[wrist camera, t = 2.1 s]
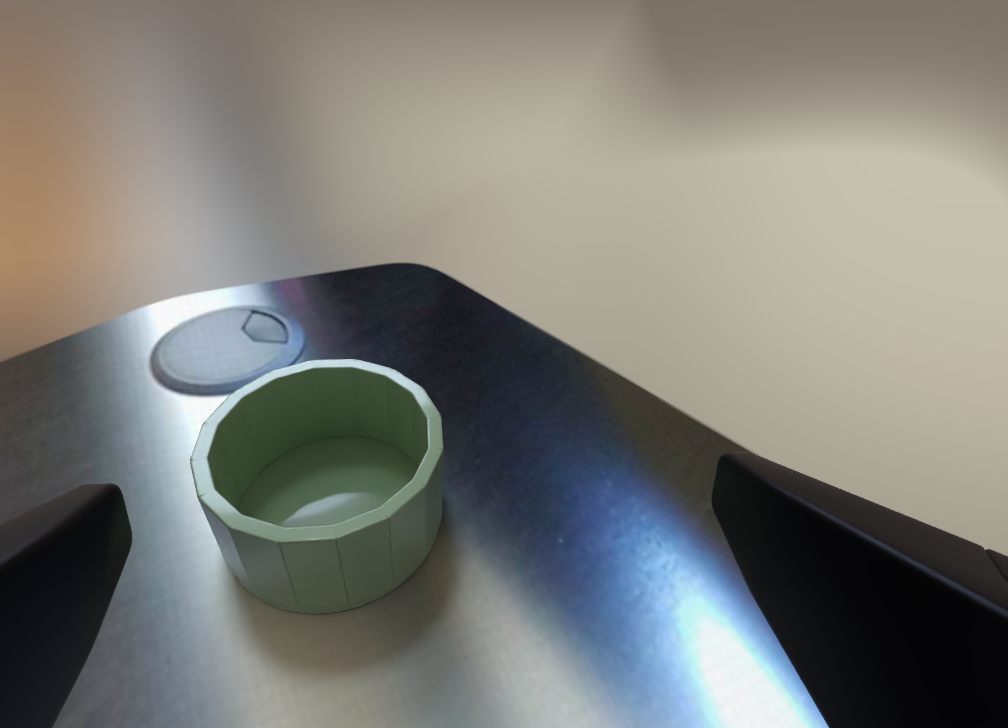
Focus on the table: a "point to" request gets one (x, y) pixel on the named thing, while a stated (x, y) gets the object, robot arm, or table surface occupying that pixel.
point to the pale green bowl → (323, 483)
